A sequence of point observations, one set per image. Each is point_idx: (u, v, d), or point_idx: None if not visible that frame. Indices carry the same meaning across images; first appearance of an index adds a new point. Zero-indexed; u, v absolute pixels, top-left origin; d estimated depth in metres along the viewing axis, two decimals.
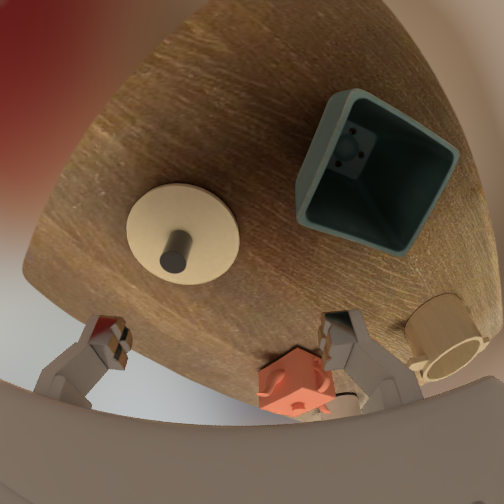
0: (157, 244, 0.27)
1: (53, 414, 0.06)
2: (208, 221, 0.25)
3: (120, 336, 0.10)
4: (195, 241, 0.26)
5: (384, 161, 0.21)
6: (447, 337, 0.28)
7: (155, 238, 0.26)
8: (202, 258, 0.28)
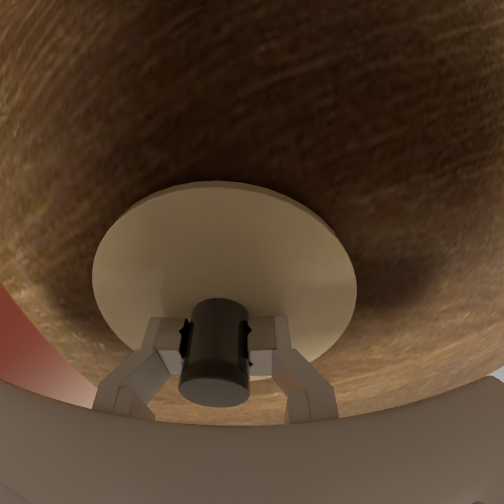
0: None
1: (53, 414, 0.06)
2: (199, 248, 0.09)
3: (185, 339, 0.10)
4: (239, 296, 0.11)
5: None
6: None
7: None
8: (291, 305, 0.11)
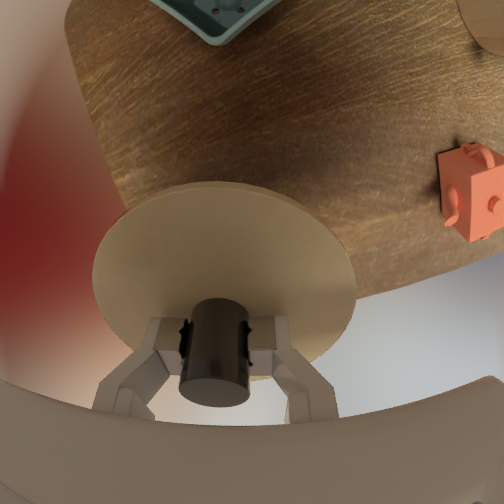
0: None
1: (53, 414, 0.06)
2: (199, 248, 0.09)
3: (185, 339, 0.10)
4: (239, 296, 0.11)
5: None
6: (496, 3, 0.09)
7: None
8: (291, 305, 0.11)
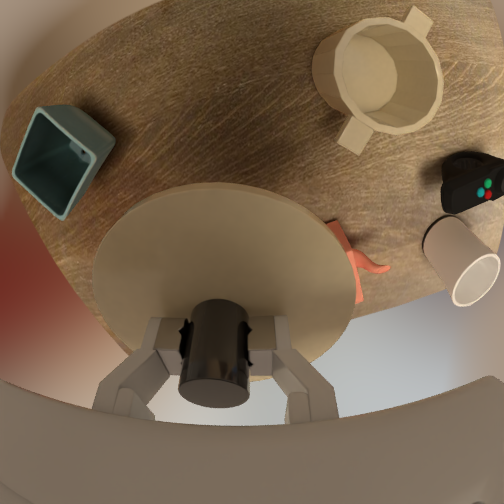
0: None
1: (53, 414, 0.06)
2: (198, 249, 0.09)
3: (185, 339, 0.10)
4: (239, 297, 0.11)
5: (92, 121, 0.25)
6: (328, 75, 0.19)
7: None
8: (290, 306, 0.11)
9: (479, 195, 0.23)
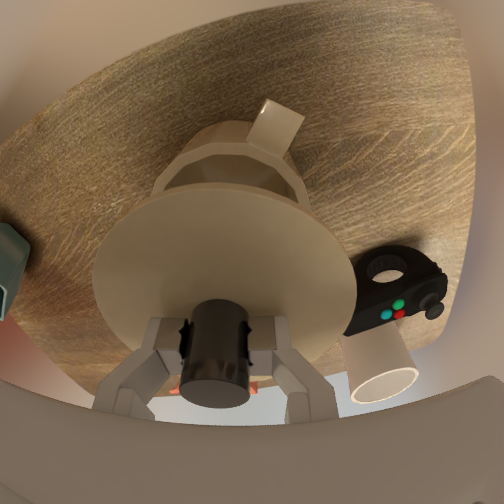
0: None
1: (53, 414, 0.06)
2: (199, 249, 0.09)
3: (185, 339, 0.10)
4: (240, 297, 0.11)
5: None
6: None
7: None
8: (291, 306, 0.11)
9: (383, 318, 0.24)
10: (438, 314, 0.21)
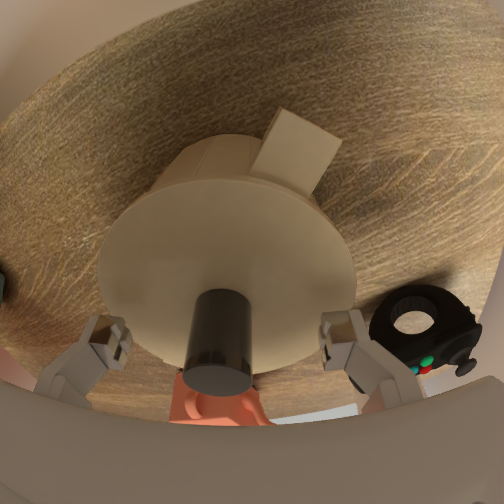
0: None
1: (53, 414, 0.06)
2: (203, 239, 0.10)
3: (120, 336, 0.10)
4: (242, 287, 0.11)
5: None
6: None
7: None
8: (292, 296, 0.11)
9: None
10: (469, 370, 0.16)
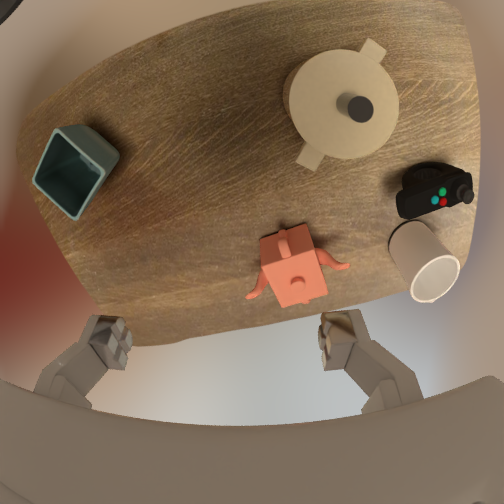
0: (338, 126, 0.24)
1: (53, 414, 0.06)
2: (345, 70, 0.21)
3: (120, 336, 0.10)
4: (357, 93, 0.22)
5: (100, 138, 0.31)
6: None
7: (332, 123, 0.24)
8: (375, 102, 0.22)
9: (433, 202, 0.29)
10: (470, 199, 0.27)
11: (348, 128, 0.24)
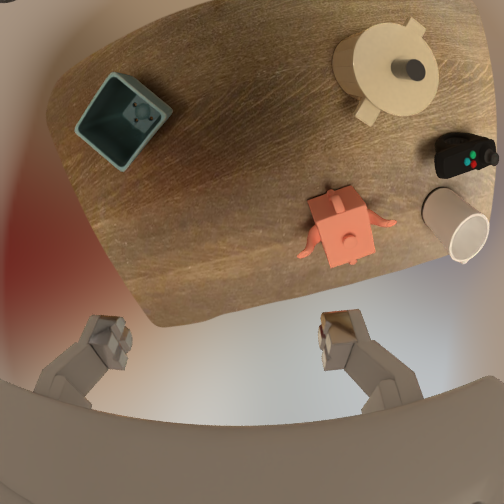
0: (392, 86, 0.23)
1: (53, 414, 0.06)
2: (397, 40, 0.20)
3: (120, 336, 0.10)
4: None
5: None
6: (349, 67, 0.24)
7: (387, 83, 0.23)
8: None
9: (466, 164, 0.29)
10: (496, 162, 0.26)
11: (400, 89, 0.23)
